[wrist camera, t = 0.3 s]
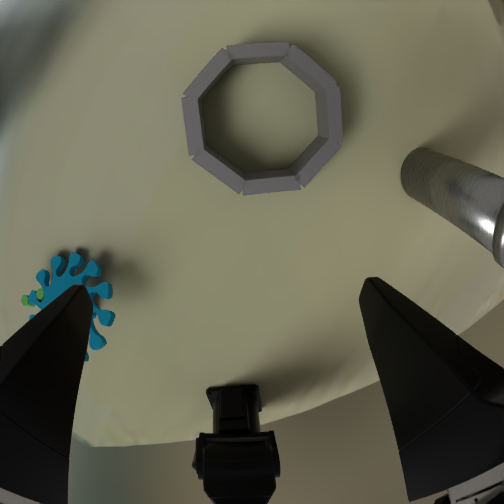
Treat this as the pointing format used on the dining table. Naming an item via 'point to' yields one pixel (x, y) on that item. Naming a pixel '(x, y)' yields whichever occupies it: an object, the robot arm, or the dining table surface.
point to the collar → (308, 160)
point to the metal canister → (458, 195)
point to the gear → (66, 281)
